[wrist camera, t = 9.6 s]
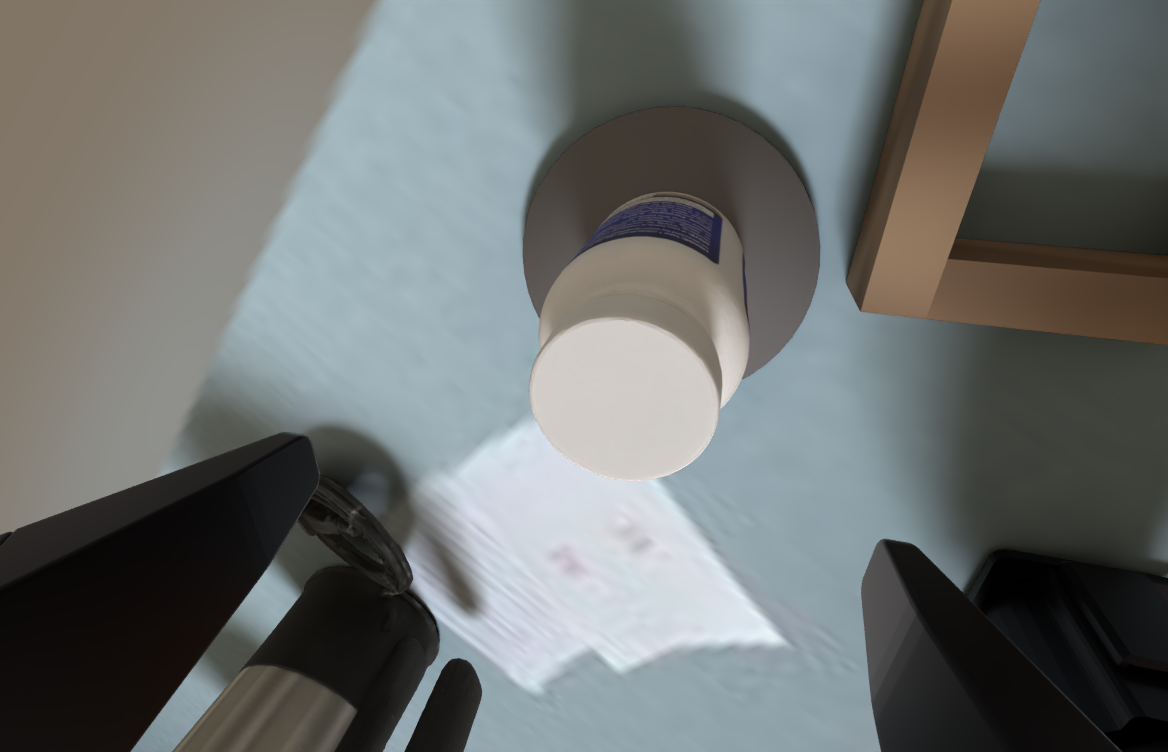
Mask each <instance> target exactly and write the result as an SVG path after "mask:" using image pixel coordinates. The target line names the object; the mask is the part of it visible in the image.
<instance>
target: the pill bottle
mask: <svg viewBox="0 0 1168 752" xmlns="http://www.w3.org/2000/svg"><path fill="white" fill-rule="evenodd" d="M746 284H747V280H746V263H745V257H744V252H743V248H742V245H741V242H740V239H739V237H738V235H737V233H736V231H735V229H734V228H733V226H732V225H731V223H730V222H729V221H728V219H727V218H726V217H725V216H724V215H723V214H722V213H721V212H720V211H719V210H717V209H716V208H715V207H713V206H712V205H710V204H709V203H707V202H705V201H703V200H701V199H699V198H697V197H694V196H691V195H688V194H684V193H678V192H656V193H650V194H646V195H643V196H640V197H637V198H635V199H633V200H630V201H628V202H627V203H625V204H623V205H622V206H620V207H619V208H617V209H616V210H615V211H614V212H613V213H612V214H610V215H609V216H608V218H607V219H606V220H605V221H604V222H603V223H602V224H601V225H600V226H599V228H598V229H597V230H596V231H595V233H594V234H593V235H592V236H591V238H590V239H589V240H588V241H587V242H586V244H585V245H584V246H583V247H582V248H581V249H580V251H579V252H578V253H577V254H576V255H575V257H574V258H573V259H572V260H571V261H570V262H569V264H568V265H567V266H566V267H565V268H564V270H563V271H562V272H561V274H560V275H559V276H558V278H557V279H556V281H555V282H554V284H553V285H552V287H551V289H550V291H549V293H548V295H547V297H546V299H545V302H544V305H543V308H542V311H541V316H540V322H539V344H540V351H539V353H538V355H537V357H536V359H535V362H534V365H533V368H532V371H531V376H530V384H529V394H530V402H531V407H532V411H533V414H534V417H535V419H536V421H537V424H538V426H539V427H540V429H541V431H542V433H543V434H544V435H545V437H546V438H547V440H548V441H549V442H550V443H551V444H552V446H553V447H554V448H555V449H556V450H557V451H558V452H560V453H561V454H562V455H563V456H564V457H566V458H567V459H568V460H570V461H571V462H573V463H574V464H576V465H577V466H579V467H581V468H583V469H585V470H587V471H589V472H592V473H594V474H597V475H601V476H603V477H607V478H612V479H617V480H625V481H643V480H651V479H655V478H660V477H663V476H667V475H669V474H672V473H674V472H677V471H678V470H680V469H683V468H684V467H685V466H687V465H689V464H690V463H691V462H692V461H693V460H695V459H696V458H697V457H698V456H699V455H700V454H701V453H702V452H703V450H704V449H705V448H706V446H707V445H708V444H709V442H710V440H711V438H712V436H713V434H714V432H715V429H716V426H717V423H718V420H719V414H720V409H721V408H722V407H723V406H724V405H725V404H726V403H727V402H728V400H729V399H730V398H731V397H732V395H733V394H734V392H735V391H736V389H737V387H738V385H739V383H740V381H741V379H742V377H743V374H744V372H745V369H746V365H747V361H748V355H749V343H750V326H749V316H748V304H747V285H746Z"/></svg>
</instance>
